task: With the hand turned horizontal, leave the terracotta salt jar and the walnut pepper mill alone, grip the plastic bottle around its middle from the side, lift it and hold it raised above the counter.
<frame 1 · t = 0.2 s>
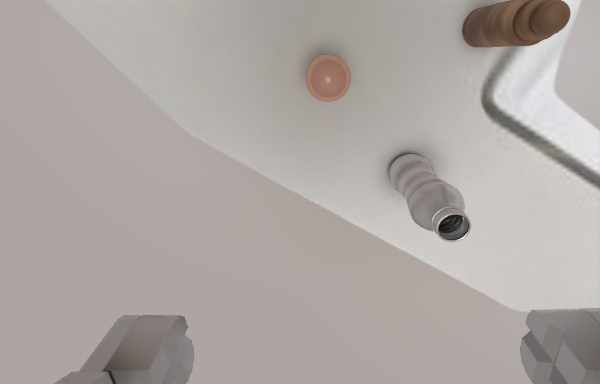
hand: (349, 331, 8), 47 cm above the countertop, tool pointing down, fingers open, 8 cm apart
salt jar: (325, 75, 51), on the countertop
plastic bottle: (406, 169, 56), on the countertop
pepper mill: (480, 27, 48), on the countertop
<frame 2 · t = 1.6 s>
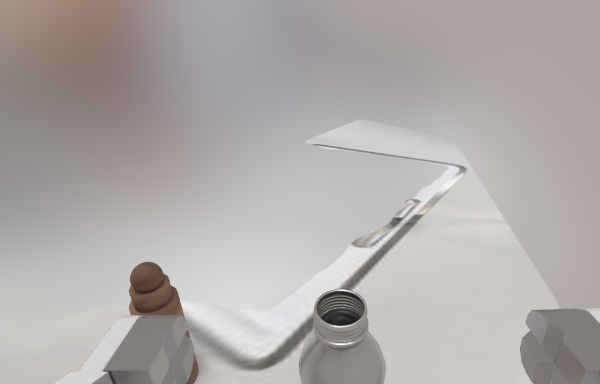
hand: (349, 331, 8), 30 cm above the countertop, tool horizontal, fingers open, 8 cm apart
pepper mill: (177, 376, 42), on the countertop
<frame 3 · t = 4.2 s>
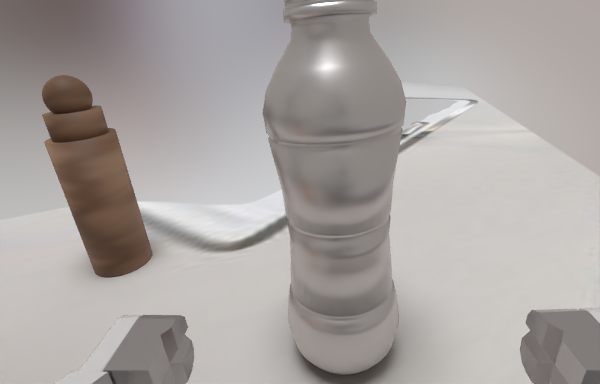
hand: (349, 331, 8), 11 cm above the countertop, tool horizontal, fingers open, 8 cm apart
plastic bottle: (343, 346, 22), on the countertop
pepper mill: (124, 260, 32), on the countertop
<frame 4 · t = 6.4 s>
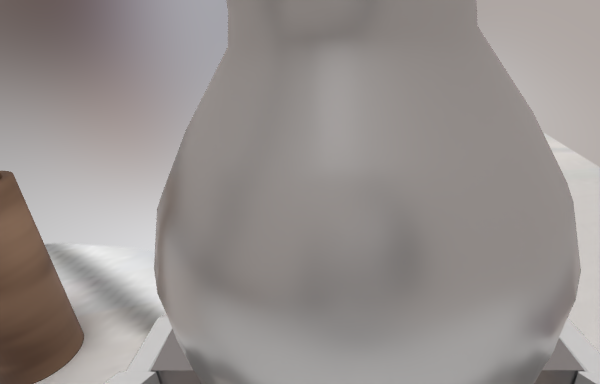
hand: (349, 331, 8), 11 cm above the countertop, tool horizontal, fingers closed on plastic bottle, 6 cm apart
pepper mill: (41, 353, 23), on the countertop
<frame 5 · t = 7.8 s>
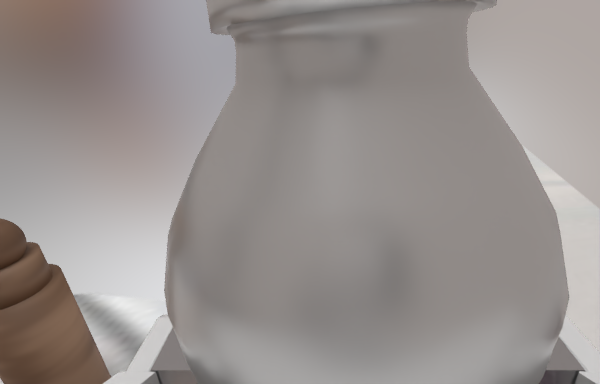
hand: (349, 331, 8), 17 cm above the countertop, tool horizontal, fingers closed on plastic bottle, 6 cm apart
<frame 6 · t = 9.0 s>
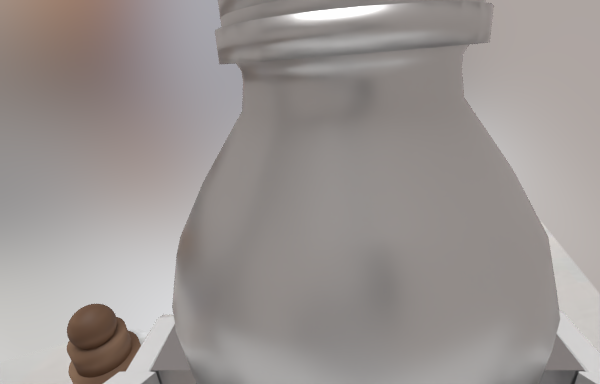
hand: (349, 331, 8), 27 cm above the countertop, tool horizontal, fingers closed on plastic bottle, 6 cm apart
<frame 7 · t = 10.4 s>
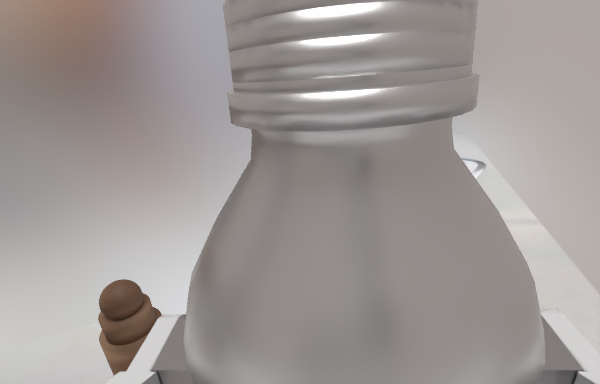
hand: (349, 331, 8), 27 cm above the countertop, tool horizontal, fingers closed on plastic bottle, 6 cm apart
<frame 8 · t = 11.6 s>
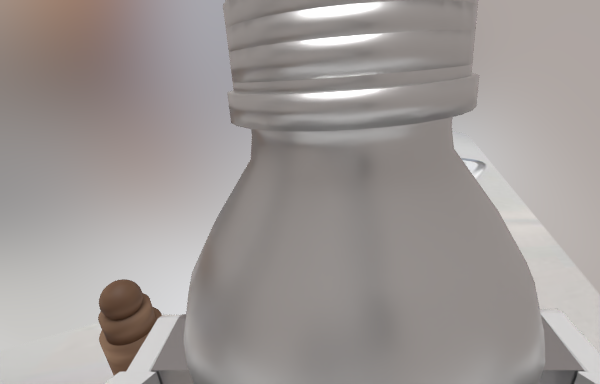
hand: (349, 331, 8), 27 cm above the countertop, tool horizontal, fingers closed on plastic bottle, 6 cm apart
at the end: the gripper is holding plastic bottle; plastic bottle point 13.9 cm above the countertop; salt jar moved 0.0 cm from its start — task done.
